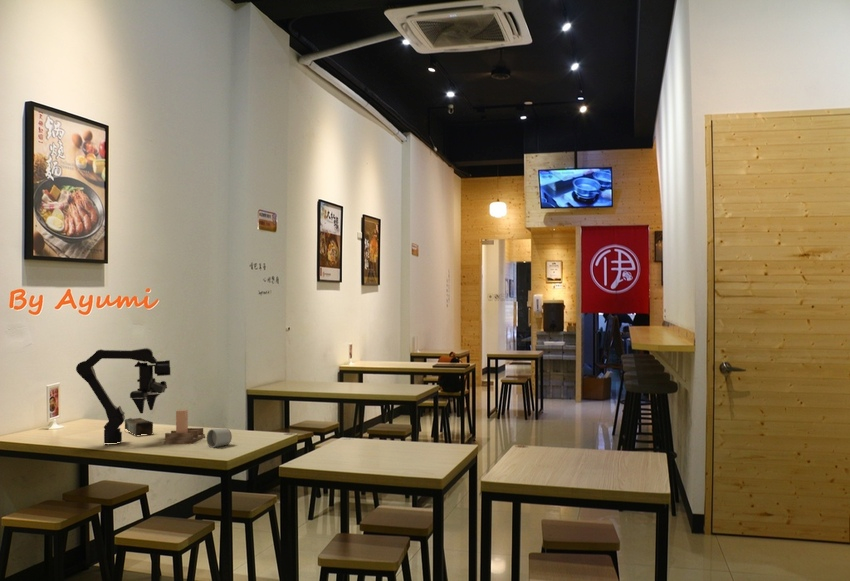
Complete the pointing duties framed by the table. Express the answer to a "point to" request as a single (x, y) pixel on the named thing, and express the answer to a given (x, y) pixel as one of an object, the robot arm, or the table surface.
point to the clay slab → (182, 421)
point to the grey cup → (218, 437)
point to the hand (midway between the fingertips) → (146, 411)
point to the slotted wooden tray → (184, 436)
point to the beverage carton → (139, 426)
